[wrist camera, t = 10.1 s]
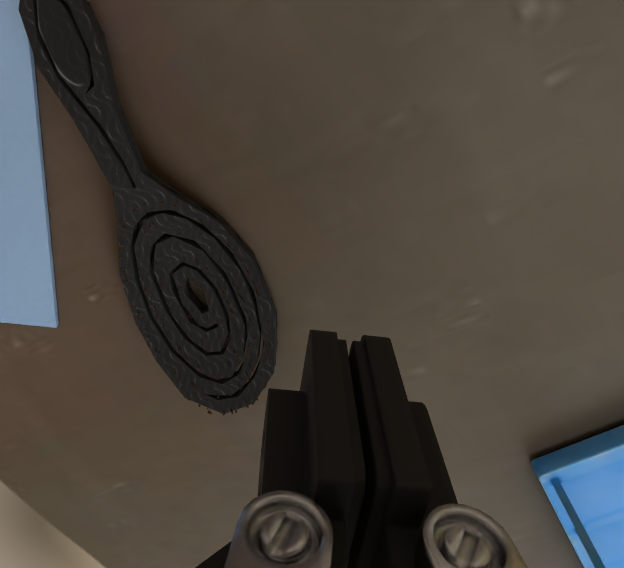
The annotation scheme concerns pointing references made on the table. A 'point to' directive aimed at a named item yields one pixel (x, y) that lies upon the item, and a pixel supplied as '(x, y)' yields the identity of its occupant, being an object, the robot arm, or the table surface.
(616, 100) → the table surface
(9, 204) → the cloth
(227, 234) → the hairbrush
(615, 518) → the file sorter
